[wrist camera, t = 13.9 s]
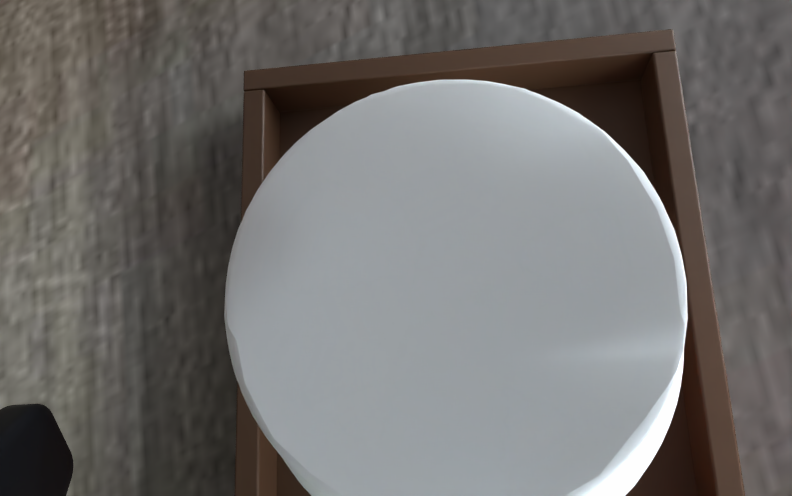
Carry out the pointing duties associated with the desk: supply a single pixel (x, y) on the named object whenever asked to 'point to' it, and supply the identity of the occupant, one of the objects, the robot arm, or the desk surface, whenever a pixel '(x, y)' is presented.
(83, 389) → the desk surface
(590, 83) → the tray
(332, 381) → the pill bottle
